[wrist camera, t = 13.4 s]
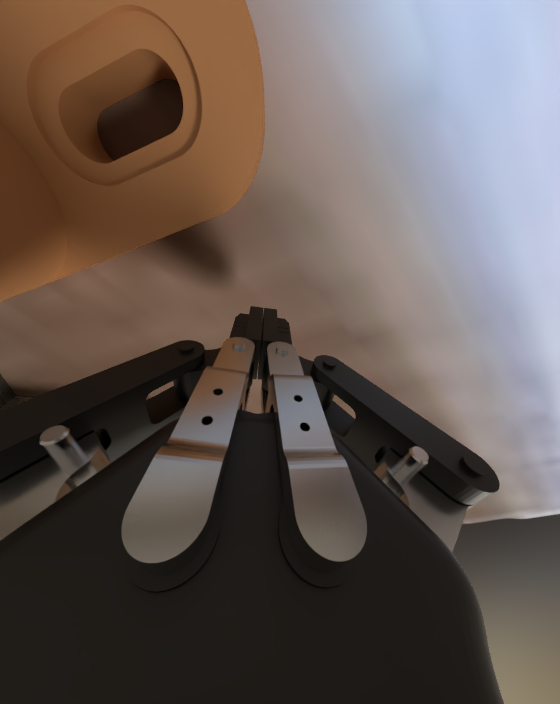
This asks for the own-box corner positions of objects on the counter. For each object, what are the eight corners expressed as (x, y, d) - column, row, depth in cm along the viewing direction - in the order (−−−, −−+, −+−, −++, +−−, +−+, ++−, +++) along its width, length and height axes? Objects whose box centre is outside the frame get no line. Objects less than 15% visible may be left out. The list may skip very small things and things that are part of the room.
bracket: (27, 292, 14) (-128, 352, 9) (-149, 121, 10) (-716, 16, 4) (286, 188, 12) (303, 177, 6) (214, -107, 7) (25, -1174, 2)
